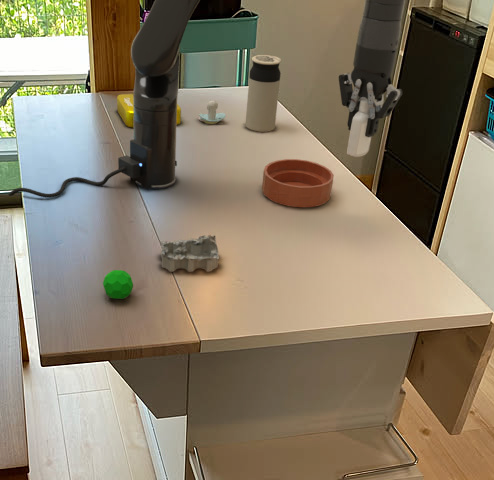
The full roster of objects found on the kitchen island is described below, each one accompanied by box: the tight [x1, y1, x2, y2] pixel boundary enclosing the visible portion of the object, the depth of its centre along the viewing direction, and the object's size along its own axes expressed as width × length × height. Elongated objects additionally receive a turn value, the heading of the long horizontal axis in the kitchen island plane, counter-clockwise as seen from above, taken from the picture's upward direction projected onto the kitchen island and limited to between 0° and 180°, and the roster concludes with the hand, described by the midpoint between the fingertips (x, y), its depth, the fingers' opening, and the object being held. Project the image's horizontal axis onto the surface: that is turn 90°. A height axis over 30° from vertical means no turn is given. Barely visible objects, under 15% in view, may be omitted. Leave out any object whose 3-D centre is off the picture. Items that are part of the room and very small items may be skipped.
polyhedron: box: [102, 269, 134, 300], centre depth 119 cm, size 5×5×5 cm
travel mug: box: [244, 54, 282, 133], centre depth 187 cm, size 8×8×18 cm
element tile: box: [116, 93, 182, 129], centre depth 192 cm, size 15×15×5 cm
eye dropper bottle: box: [346, 98, 372, 158], centre depth 140 cm, size 4×6×12 cm
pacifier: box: [198, 99, 226, 125], centre depth 192 cm, size 7×6×6 cm
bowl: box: [261, 158, 335, 208], centre depth 157 cm, size 15×15×5 cm
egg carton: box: [160, 234, 220, 273], centre depth 130 cm, size 11×8×4 cm
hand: (361, 132), depth 141 cm, fingers closed on eye dropper bottle, 3 cm apart
